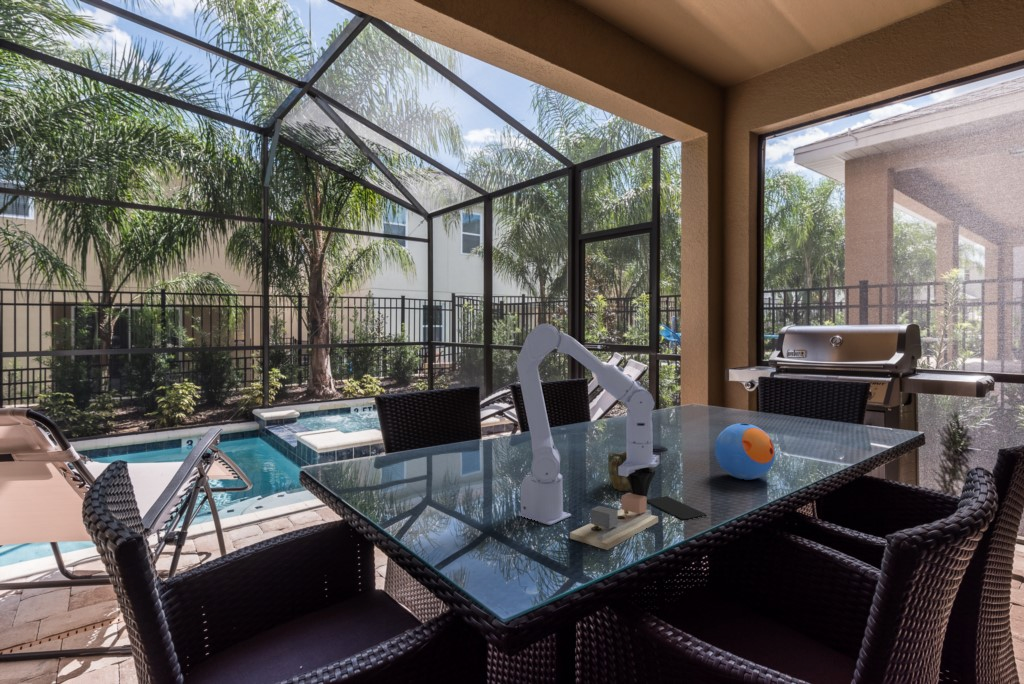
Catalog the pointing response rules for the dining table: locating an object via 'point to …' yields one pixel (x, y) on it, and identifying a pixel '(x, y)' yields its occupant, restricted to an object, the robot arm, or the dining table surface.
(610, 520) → the fixed leg
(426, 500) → the dining table surface
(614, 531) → the divider bar
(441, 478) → the dining table surface
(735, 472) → the treat dispenser ball
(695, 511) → the smartphone
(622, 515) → the hole plate
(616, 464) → the cup
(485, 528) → the dining table surface
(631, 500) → the brownish pink rectangular block
